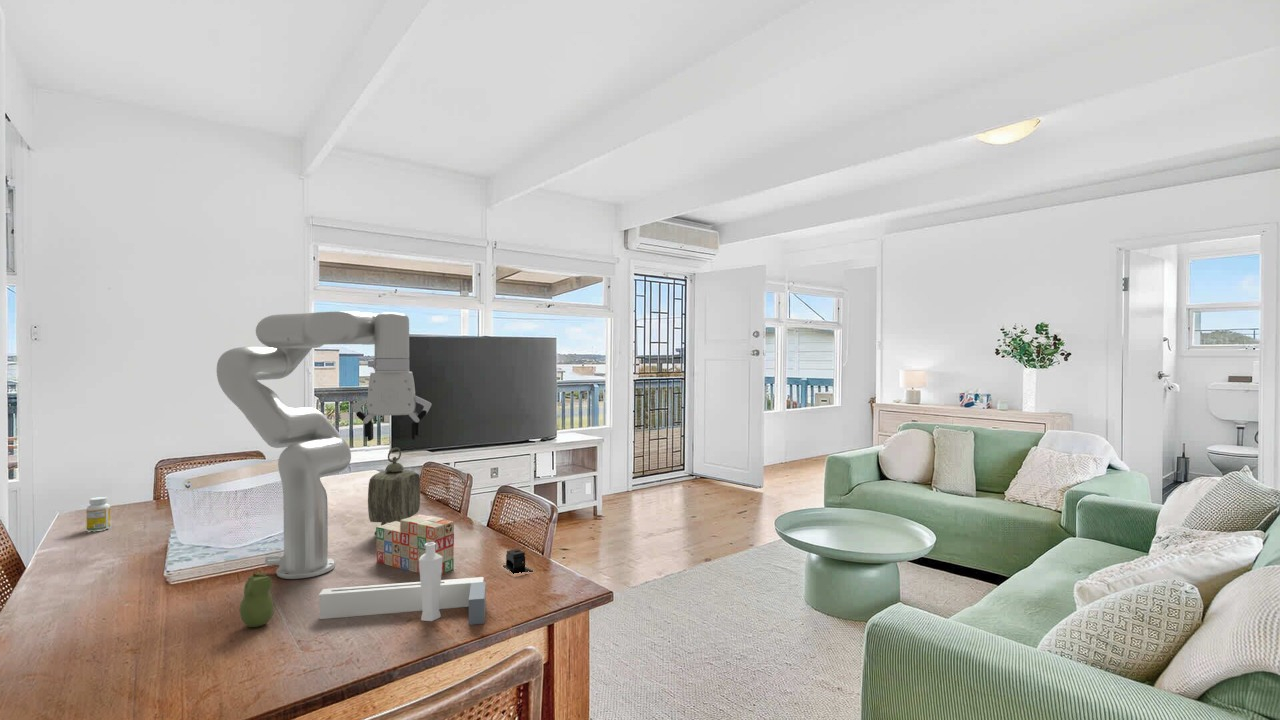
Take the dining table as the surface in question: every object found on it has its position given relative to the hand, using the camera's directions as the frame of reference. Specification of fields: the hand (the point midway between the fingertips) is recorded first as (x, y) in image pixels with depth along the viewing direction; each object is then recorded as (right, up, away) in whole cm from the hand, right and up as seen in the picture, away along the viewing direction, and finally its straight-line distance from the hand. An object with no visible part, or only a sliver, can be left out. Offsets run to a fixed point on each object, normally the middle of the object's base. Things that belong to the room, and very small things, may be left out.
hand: (392, 439), depth 144 cm
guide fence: (+10, -34, -19) cm, 40 cm away
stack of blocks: (+1, -34, +11) cm, 35 cm away
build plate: (+27, -34, +9) cm, 44 cm away
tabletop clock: (-15, -33, +40) cm, 54 cm away
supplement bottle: (-104, -33, +41) cm, 117 cm away
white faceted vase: (+15, -34, -19) cm, 42 cm away
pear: (-17, -34, -23) cm, 44 cm away
